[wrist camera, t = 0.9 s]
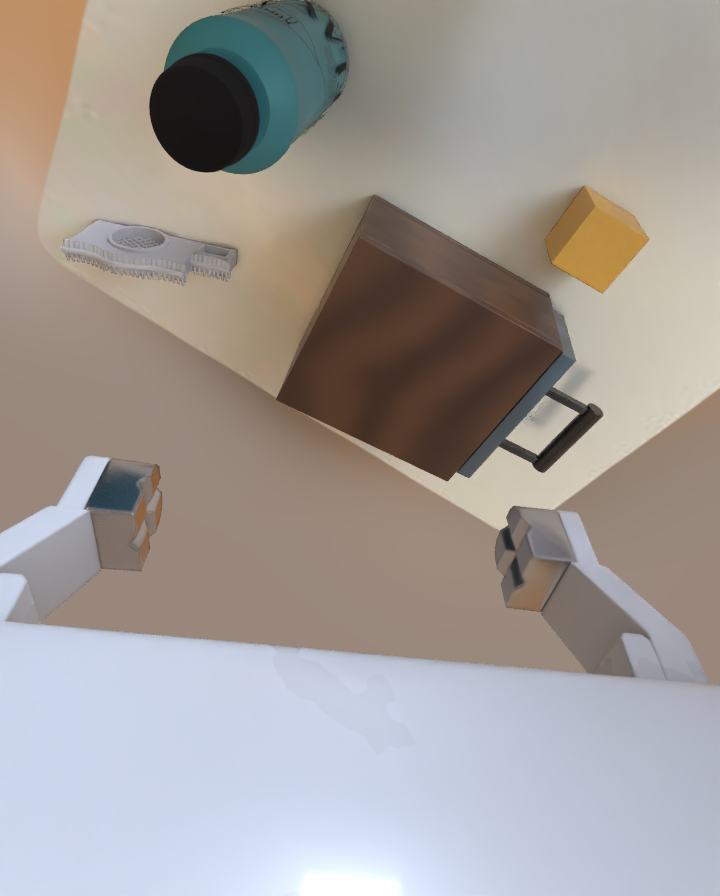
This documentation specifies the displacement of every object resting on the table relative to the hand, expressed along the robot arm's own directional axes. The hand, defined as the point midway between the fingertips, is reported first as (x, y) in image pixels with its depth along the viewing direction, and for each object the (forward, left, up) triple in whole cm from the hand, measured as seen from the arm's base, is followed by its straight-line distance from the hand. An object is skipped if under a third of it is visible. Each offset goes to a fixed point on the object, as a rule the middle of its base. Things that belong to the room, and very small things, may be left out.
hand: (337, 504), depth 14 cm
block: (-8, +11, -35) cm, 38 cm away
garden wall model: (+21, -4, -35) cm, 41 cm away
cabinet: (+7, +12, -35) cm, 38 cm away
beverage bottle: (+4, -8, -35) cm, 37 cm away
